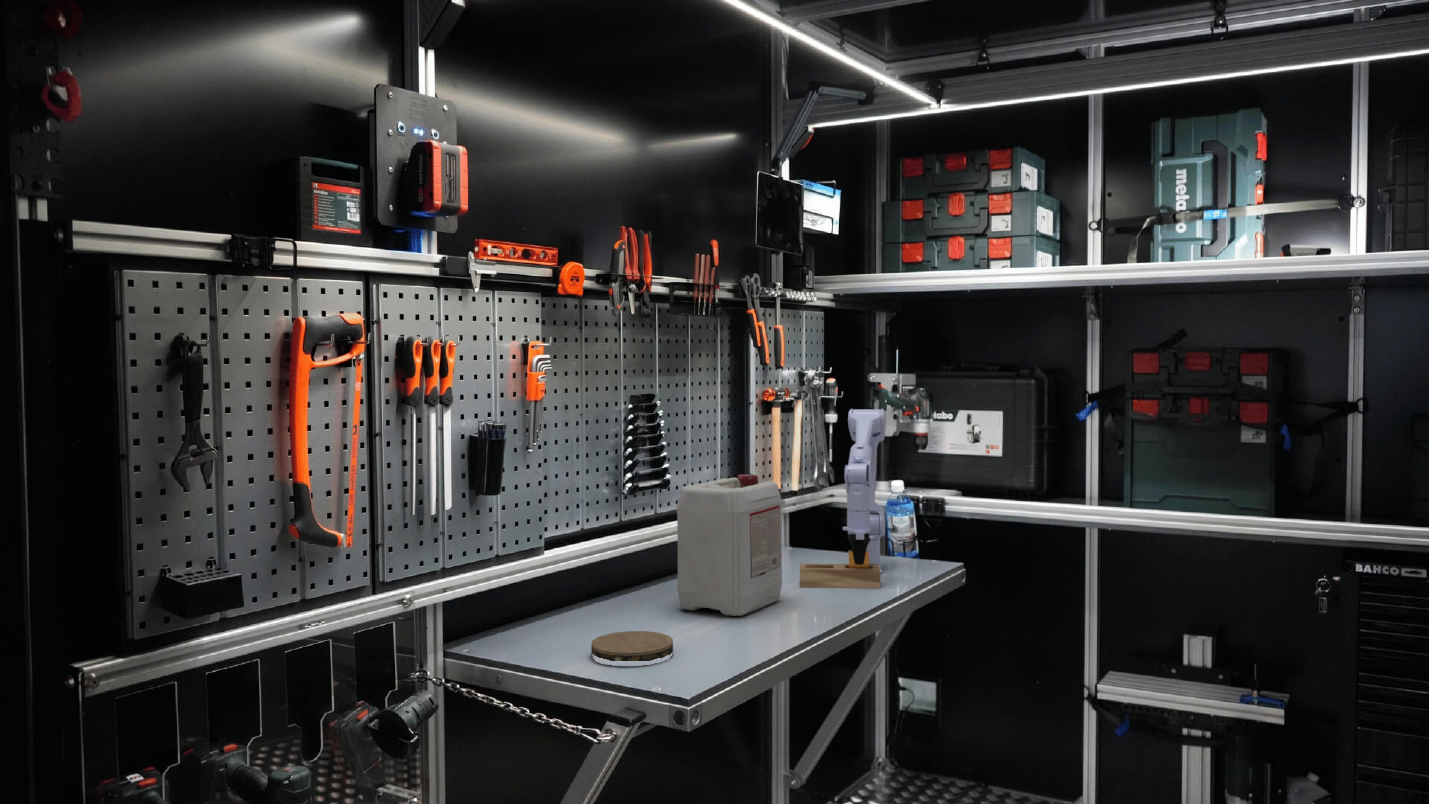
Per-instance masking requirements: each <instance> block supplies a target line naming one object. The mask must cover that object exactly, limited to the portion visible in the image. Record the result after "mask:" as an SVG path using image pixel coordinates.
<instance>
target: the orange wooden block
mask: <svg viewBox="0 0 1429 804" xmlns="http://www.w3.org/2000/svg"><path fill="white" fill-rule="evenodd" d="M848 564H849V568H869V551H866V554H865V560H864V564H863V565H855V562H854V557H853V551H852V549H851V550H850V549H849V550H848Z"/></svg>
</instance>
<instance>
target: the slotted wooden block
mask: <svg viewBox="0 0 1429 804" xmlns="http://www.w3.org/2000/svg"><path fill="white" fill-rule="evenodd" d="M799 588H813V589H814V588H818V589H819V588H826V589H827V588H829V589H830V588H831V589H832V588H834V589H836V588H838V589H839V588H842V589H849V588H850V589H852V588H853V589H854V588H855V589H856V588H857V589H881V573H880V569H879V566H878V564H869V568H849V563H800V564H799Z"/></svg>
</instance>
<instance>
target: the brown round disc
mask: <svg viewBox="0 0 1429 804" xmlns="http://www.w3.org/2000/svg"><path fill="white" fill-rule="evenodd" d="M590 652H591V655H592V654H593V655H595V656H597V657H599V658H603V659H607V660H610V661H651V660H654V659H657V658H663V657H665V656H667V655H670V654H671V653H672V652H673V653H674V638H673V637H671V636H670V635H668V634H664V633H662V632H655V631H647V630H627V631H620V632H619V631H617V632H613V633H612V632H611V633H607V634H603V635H601V636H598V637H596V638H594V639H593V640H592V642H591V651H590Z"/></svg>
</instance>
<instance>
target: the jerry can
mask: <svg viewBox="0 0 1429 804" xmlns="http://www.w3.org/2000/svg"><path fill="white" fill-rule="evenodd" d="M778 485H779V484H778V483H776V481H774V480H768V481H764V482H759V478H758V475H757V474H738V475H737V477H729V478H725V477H722V478H720V479H717V480H712V481H711V480H709V481H707V482H706V481H705V482H702V483H695V484H687V485H686V486H682V487H681V488H680V491H679V496H678V500H677V504H676V514H677V515H676V517H677V526H676V529H677V533H676V534H677V588H676V590H677V595H678V599H679V604H680V605H679V606H680V607H681V609H683V610H686V611H692V612H693V611H698V610H699V609H705V608H707V609H710V610H718V611H720V612H721V614H723V615H724V616H732V617H741V616H744V615H747V614H749V613H752V612H755V611H756V610H759V609H761V608H763V607H764V608H765V607H767V606H768V605H771V604H772V603H775V602H777V601H779V600H780V597H781V592H782V585H783V564H782V562H783V561H782V559H783V553H782V551H783V544H782V543H783V542H782V541H783V539H782V537H783V536H782V533H783V531H782V529H783V528H782V527H783V526H782V525H783V521H782V518H783V517H782V514H783V512H782V511H783V510H782V508H783V507H782V504H783V500H782V496H781V493H780V490H779V486H778Z"/></svg>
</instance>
